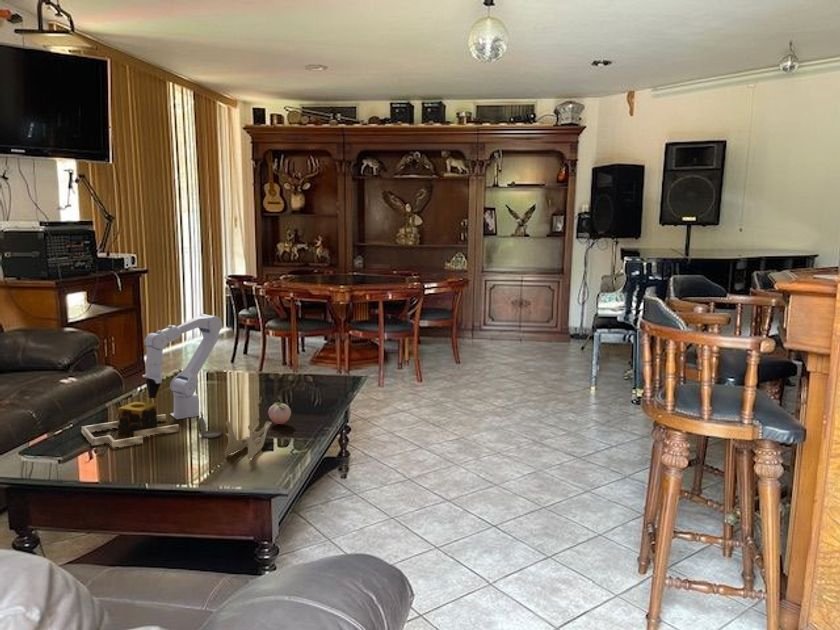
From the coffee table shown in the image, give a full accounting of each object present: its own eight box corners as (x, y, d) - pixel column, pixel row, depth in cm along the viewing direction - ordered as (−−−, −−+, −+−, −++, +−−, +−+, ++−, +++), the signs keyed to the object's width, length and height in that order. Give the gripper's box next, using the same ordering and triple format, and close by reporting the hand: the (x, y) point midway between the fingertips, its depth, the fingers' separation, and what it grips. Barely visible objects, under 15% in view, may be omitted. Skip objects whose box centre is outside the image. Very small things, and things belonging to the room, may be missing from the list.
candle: (141, 437, 225) (141, 410, 224) (117, 433, 227) (116, 408, 225) (158, 428, 235) (158, 403, 233) (135, 425, 237) (134, 400, 235)
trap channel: (159, 415, 250) (159, 410, 249) (184, 436, 228) (184, 429, 228) (77, 428, 230) (77, 421, 230) (96, 451, 209) (96, 444, 208)
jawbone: (250, 462, 206) (248, 422, 205) (224, 461, 208) (222, 421, 207) (282, 440, 231) (281, 405, 229) (259, 439, 233) (257, 404, 232)
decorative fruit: (295, 425, 247) (295, 402, 245) (277, 429, 241) (278, 405, 239) (281, 420, 253) (282, 397, 252) (264, 424, 247) (265, 400, 246)
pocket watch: (223, 434, 232) (224, 409, 231) (209, 441, 224) (209, 415, 223) (206, 431, 235) (206, 406, 233) (191, 437, 227) (191, 411, 225)
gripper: (138, 360, 241) (136, 394, 242) (148, 367, 230) (147, 402, 231) (156, 360, 245) (155, 393, 246) (168, 366, 234) (166, 401, 235)
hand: (152, 397), depth 239 cm, fingers closed
